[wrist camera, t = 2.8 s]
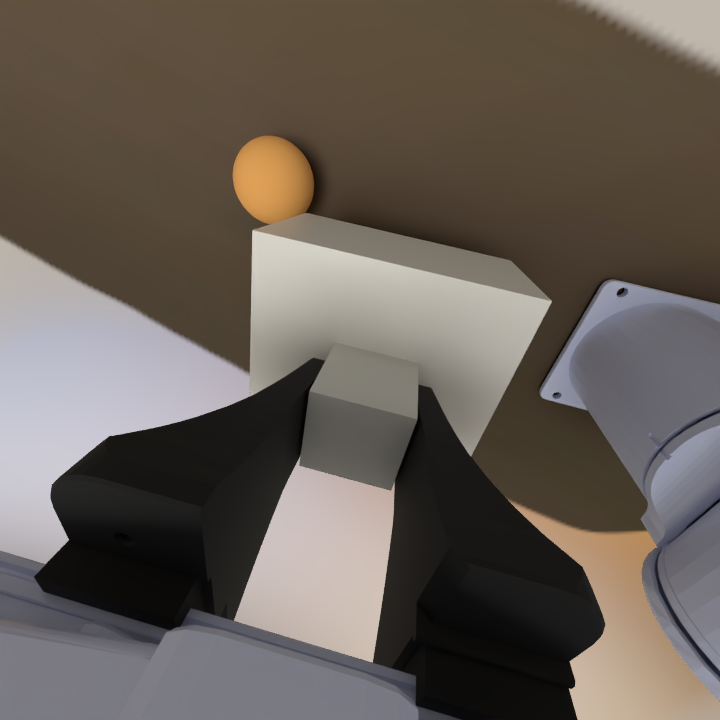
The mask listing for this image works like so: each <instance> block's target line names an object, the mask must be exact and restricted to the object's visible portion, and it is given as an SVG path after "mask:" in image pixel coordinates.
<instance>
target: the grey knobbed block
mask: <svg viewBox="0 0 720 720" xmlns="http://www.w3.org/2000/svg"><path fill="white" fill-rule="evenodd" d="M551 302H552V301H551V300H550V299H549V298H548V297H547V296H546V295H545V294H544V293H543V292H542V291H541V290H540V289H539V288H538V287H537V286H536V285H535V284H534V283H533V282H532V281H531V280H530V279H529V278H528V277H527V276H526V275H525V274H524V273H523V272H522V271H521V270H520V269H519V268H518V267H517V266H516V265H515V264H514V263H513V262H512V261H510V260H506V259H502V258H498V257H493V256H489V255H485V254H480V253H476V252H472V251H468V250H463V249H459V248H455V247H450V246H446V245H442V244H437V243H433V242H429V241H425V240H420V239H416V238H412V237H407V236H403V235H399V234H395V233H390V232H386V231H382V230H377V229H373V228H369V227H365V226H360V225H356V224H352V223H347V222H343V221H339V220H334V219H330V218H326V217H322V216H317V215H313V214H309V213H304V214H301V215H298V216H295V217H292V218H289V219H286V220H282V221H279V222H276V223H273V224H270V225H267V226H264V227H261V228H258V229H255V230H253V233H252V289H251V345H250V396H252V395H254V394H256V393H257V392H259V391H261V390H263V389H265V388H267V387H268V386H270V385H272V384H274V383H275V382H277V381H278V380H280V379H282V378H283V377H285V376H286V375H288V374H290V373H291V372H293V371H294V370H296V369H297V368H298V367H300V366H301V365H303V364H304V363H306V362H307V361H309V360H310V359H312V358H317V359H321V360H325V363H324V365H323V366H322V368H321V370H320V372H319V374H318V376H317V378H316V380H315V382H314V383H313V385H312V387H311V389H310V391H309V398H308V405H307V413H306V420H305V427H304V435H303V442H302V449H301V455H300V466H303V467H306V468H310V469H314V470H318V471H321V472H325V473H328V474H332V475H336V476H339V477H344V478H347V479H350V480H354V481H358V482H362V483H365V484H369V485H372V486H376V487H380V488H384V489H387V490H391V489H392V486H393V484H394V483H395V478H396V476H397V473H398V470H399V468H400V465H401V462H402V459H403V457H404V454H405V451H406V449H407V446H408V443H409V441H410V438H411V435H412V433H413V430H414V427H415V424H416V422H417V416H418V384H419V385H423V386H427V387H431V388H432V390H433V392H434V394H435V396H436V398H437V400H438V402H439V404H440V406H441V408H442V410H443V412H444V414H445V416H446V417H447V419H448V421H449V423H450V425H451V426H452V428H453V430H454V432H455V433H456V435H457V437H458V438H459V440H460V441H461V443H462V444H463V446H464V447H465V449H466V450H467V452H468V453H469V455H470V456H471V455H472V453H473V451H474V449H475V448H476V446H477V444H478V442H479V440H480V438H481V436H482V434H483V432H484V430H485V428H486V427H487V425H488V423H489V421H490V419H491V417H492V415H493V413H494V411H495V409H496V407H497V406H498V404H499V402H500V400H501V398H502V396H503V394H504V392H505V390H506V388H507V386H508V385H509V383H510V381H511V379H512V377H513V375H514V373H515V371H516V369H517V367H518V365H519V364H520V362H521V360H522V358H523V356H524V354H525V352H526V350H527V348H528V346H529V344H530V343H531V341H532V339H533V337H534V335H535V333H536V331H537V329H538V327H539V325H540V323H541V322H542V320H543V318H544V316H545V314H546V312H547V310H548V308H549V306H550V304H551Z"/></svg>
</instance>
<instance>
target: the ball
mask: <svg viewBox="0 0 720 720" xmlns="http://www.w3.org/2000/svg"><path fill="white" fill-rule="evenodd" d="M233 182H234V187H235V191H236V194H237V196H238V198H239V200H240V202H241V203H242V205H243V206H244V207H245V209H246V210H247V211H248V212H249V213H250V214H251V215H252V216H254V217H255V218H257V219H258V220H260V221H262V222H264V223H267V224H273V223H276V222H279V221H282V220H286V219H289V218H292V217H295V216H298V215H301V214H304V213H305V212H306V211H307V209H308V208H309V206H310V204H311V201H312V198H313V194H314V178H313V173H312V170H311V167H310V165H309V163H308V161H307V159H306V157H305V156H304V154H303V153H302V152H301V151H300V150H299V149H298V148H297V147H296V146H295V145H294V144H292V143H291V142H289V141H287V140H285V139H283V138H280V137H276V136H262V137H258V138H255V139H253V140H251V141H249V142H248V143H247V144H246V145H245V146H244V147H243V148H242V149H241V150H240V152H239V153H238V155H237V158H236V160H235V163H234V168H233Z"/></svg>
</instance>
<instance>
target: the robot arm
mask: <svg viewBox="0 0 720 720" xmlns="http://www.w3.org/2000/svg"><path fill="white" fill-rule="evenodd" d="M621 288H624V292H623V293H622V294H620V295H617V291H618V290H619V289H621ZM324 363H325V360H321V359H317V358H312V359H310V360H309V361H307V362H306V363H304V364H303V365H301V366H300V367H298V368H297V369H296V370H294V371H293V372H291V373H290V374H288V375H286V376H285V377H283V378H282V379H280V380H278V381H277V382H275V383H274V384H272V385H270V386H268V387H267V388H265V389H263V390H261V391H259V392H257V393H256V394H254V395H252V396H250V397H248V398H246V399H243V400H241V401H239V402H236V403H234V404H232V405H230V406H227V407H224V408H221V409H218V410H216V411H213V412H210V413H207V414H204V415H201V416H198V417H195V418H191V419H188V420H185V421H181V422H177V423H173V424H170V425H165V426H161V427H156V428H153V429H147V430H142V431H137V432H131V433H126V434H121V435H115V436H109V437H108V438H107V439H105V440H104V441H103V442H101V443H100V444H99V445H98V446H96V447H95V448H94V449H93V450H91V451H90V452H89V453H88V454H87V455H86V456H84V457H83V458H82V459H81V460H80V461H78V462H77V463H76V464H75V465H74V466H72V467H71V468H70V469H69V470H68V471H66V472H65V473H64V474H63V475H62V476H60V477H59V478H58V479H57V480H56V481H55V482H54V483H53V484H52V488H51V501H52V504H53V508H54V510H55V512H56V514H57V516H58V518H59V520H60V522H61V524H62V526H63V528H64V530H65V532H66V534H67V536H68V538H69V541H68V542H67V543H66V544H65V545H64V546H63V547H62V548H61V549H60V550H59V551H58V552H57V553H56V554H55V555H54V556H53V557H52V558H51V559H50V561H48V562H47V564H43V563H39V562H36V561H33V560H29V559H26V558H23V557H19V556H16V555H13V554H9V553H6V552H3V551H0V720H577V717H576V713H575V709H574V706H573V702H572V699H571V695H570V692H569V688H570V689H572V688H573V687H575V679H574V675H573V672H572V669H571V665H570V662H569V661H571V660H572V659H573V658H575V657H576V656H578V655H579V654H580V653H582V652H583V651H585V650H586V649H587V648H589V647H590V646H592V645H593V644H594V643H595V642H596V641H597V640H598V639H599V638H600V637H601V635H602V634H603V631H604V627H605V622H604V618H603V615H602V613H601V610H600V607H599V605H598V602H597V600H596V597H595V595H594V592H593V589H592V587H591V585H590V583H589V580H588V578H587V576H586V574H585V572H584V570H583V567H582V566H580V565H579V564H578V563H577V562H576V561H575V560H573V559H572V558H571V557H570V556H569V555H567V554H566V553H565V552H564V551H562V550H561V549H560V548H559V547H558V546H557V545H555V544H554V543H553V542H552V541H551V540H549V539H548V538H547V537H546V536H545V535H544V534H542V533H541V532H540V531H539V530H538V529H537V528H536V527H535V526H534V525H533V524H532V523H531V522H529V521H528V520H527V519H526V518H525V517H524V516H523V515H522V514H521V513H520V512H519V511H518V510H517V509H516V508H515V507H514V506H513V505H512V504H511V503H510V502H509V501H508V500H507V499H506V498H505V497H504V496H503V494H502V493H501V492H500V491H499V490H498V489H497V488H496V487H495V486H494V485H493V484H492V482H491V481H490V480H489V479H488V478H487V477H486V475H485V474H484V473H483V472H482V470H481V469H480V468H479V466H478V465H477V464H476V463H475V461H474V460H473V459H472V457H471V456H470V455H469V453H468V452H467V450H466V449H465V447H464V446H463V444H462V443H461V441H460V440H459V438H458V437H457V435H456V433H455V432H454V430H453V428H452V426H451V425H450V423H449V421H448V419H447V417H446V416H445V414H444V412H443V410H442V408H441V406H440V404H439V402H438V400H437V398H436V396H435V394H434V392H433V390H432V388H431V387H427V386H423V385H419V384H418V416H417V422H416V424H415V427H414V430H413V433H412V435H411V438H410V441H409V443H408V446H407V449H406V451H405V454H404V457H403V459H402V462H401V465H400V468H399V470H398V473H397V476H396V478H395V494H394V518H393V528H392V535H391V543H390V551H389V559H388V566H387V573H386V580H385V587H384V594H383V601H382V608H381V614H380V621H379V627H378V634H377V640H376V647H375V653H374V659H373V663H372V662H368V661H364V660H362V659H358V658H355V657H352V656H348V655H345V654H341V653H338V652H335V651H332V650H328V649H325V648H322V647H318V646H315V645H312V644H308V643H305V642H302V641H298V640H295V639H291V638H288V637H285V636H281V635H279V634H275V633H272V632H268V631H265V630H262V629H259V628H255V627H252V626H248V625H245V624H242V623H239V622H235V621H234V618H235V616H236V613H237V610H238V607H239V605H240V602H241V599H242V596H243V593H244V591H245V588H246V585H247V582H248V579H249V577H250V574H251V572H252V569H253V566H254V564H255V561H256V558H257V555H258V553H259V550H260V547H261V545H262V542H263V540H264V537H265V534H266V532H267V529H268V527H269V524H270V521H271V519H272V516H273V514H274V511H275V509H276V506H277V504H278V501H279V499H280V496H281V494H282V491H283V489H284V487H285V485H286V483H287V481H288V479H289V477H290V475H291V473H292V471H293V469H294V467H295V465H296V463H297V461H298V459H299V457H300V455H301V449H302V442H303V435H304V427H305V420H306V413H307V405H308V398H309V391H310V389H311V387H312V385H313V383H314V382H315V380H316V378H317V376H318V374H319V372H320V370H321V368H322V366H323V365H324ZM556 392H559V394H558V395H553V394H554V393H556ZM539 393H540V395H541V397H542V398H544V399H547V400H550V401H554V402H558V403H562V404H565V405H569V406H573V407H577V408H580V409H584V410H588V411H589V413H590V414H591V416H592V417H593V419H594V420H595V422H596V423H597V425H598V426H599V428H600V429H601V431H602V433H603V434H604V436H605V437H606V439H607V440H608V442H609V443H610V445H611V446H612V448H613V449H614V451H615V452H616V454H617V455H618V457H619V458H620V460H621V461H622V463H623V464H624V466H625V467H626V469H627V470H628V472H629V473H630V475H631V477H632V478H633V480H634V481H635V483H636V484H637V486H638V487H639V489H640V490H641V492H642V493H643V495H644V496H645V498H646V499H647V501H648V508H647V511H646V513H645V514H644V515H643V516H642V518H641V521H642V522H643V524H644V526H645V527H646V529H647V531H648V532H649V534H650V535H651V537H652V539H653V541H654V542H655V543H656V546H657V548H655V549H654V550H652V551H651V552H650V553H649V554H648V555H647V557H646V559H645V560H644V563H643V568H642V581H643V586H644V590H645V593H646V597H647V600H648V602H649V604H650V606H651V609H652V611H653V614H654V615H655V617H656V619H657V621H658V622H659V624H660V626H661V628H662V630H663V631H664V633H665V635H666V636H667V638H668V639H669V640H670V642H671V644H672V645H673V647H674V648H675V650H676V651H677V652H678V654H679V655H680V656H681V657H682V659H683V660H684V661H685V663H686V664H687V665H688V667H689V668H690V669H691V670H692V672H693V673H694V674H695V675H696V676H697V677H698V679H699V680H700V681H701V682H702V683H703V684H704V685H705V686H706V687H707V689H708V690H709V691H710V692H711V693H712V694H713V695H714V696H715V697H716V698H717V699H718V700H719V701H720V304H717V303H713V302H708V301H704V300H700V299H696V298H692V297H687V296H683V295H679V294H675V293H670V292H666V291H662V290H658V289H653V288H649V287H645V286H641V285H636V284H632V283H628V282H624V281H619V280H615V279H610V280H607V281H605V282H604V283H603V284H602V285H601V286H600V288H599V289H598V291H597V293H596V294H595V296H594V298H593V299H592V301H591V303H590V305H589V306H588V308H587V310H586V311H585V313H584V315H583V316H582V318H581V320H580V321H579V323H578V325H577V326H576V328H575V330H574V332H573V333H572V335H571V337H570V338H569V340H568V342H567V343H566V345H565V347H564V348H563V350H562V352H561V354H560V355H559V357H558V359H557V360H556V362H555V364H554V365H553V367H552V369H551V370H550V372H549V374H548V376H547V377H546V379H545V381H544V382H543V384H542V386H541V387H540V390H539Z"/></svg>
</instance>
